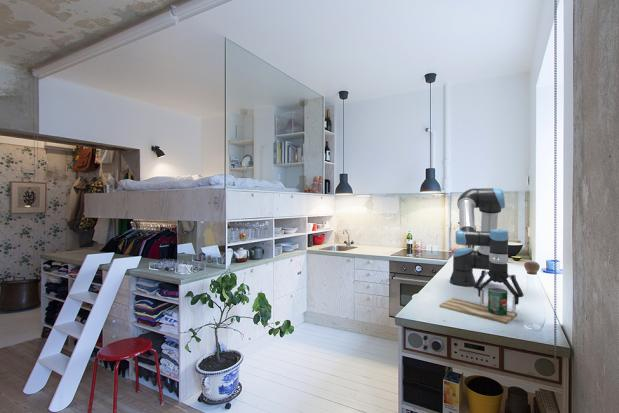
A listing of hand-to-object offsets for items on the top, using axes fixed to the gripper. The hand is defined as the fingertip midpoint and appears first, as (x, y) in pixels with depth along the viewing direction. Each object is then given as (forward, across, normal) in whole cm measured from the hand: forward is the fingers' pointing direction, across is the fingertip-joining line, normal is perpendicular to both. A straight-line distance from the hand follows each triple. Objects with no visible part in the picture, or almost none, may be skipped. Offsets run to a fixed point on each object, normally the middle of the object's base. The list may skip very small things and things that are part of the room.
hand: (497, 307), depth 149 cm
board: (+4, -9, 0) cm, 10 cm away
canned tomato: (+3, 0, 0) cm, 3 cm away
